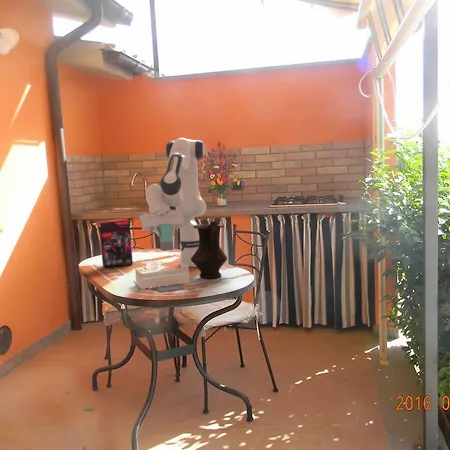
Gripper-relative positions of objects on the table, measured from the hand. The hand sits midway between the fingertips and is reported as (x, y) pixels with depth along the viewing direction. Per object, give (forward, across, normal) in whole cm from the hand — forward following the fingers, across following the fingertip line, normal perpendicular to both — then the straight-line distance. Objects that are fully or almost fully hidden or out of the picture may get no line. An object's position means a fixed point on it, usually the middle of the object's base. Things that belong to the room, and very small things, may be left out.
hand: (166, 235), depth 235 cm
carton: (+7, 0, +29) cm, 30 cm away
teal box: (+4, 0, +5) cm, 7 cm away
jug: (+10, +25, +26) cm, 38 cm away
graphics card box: (-30, -12, +67) cm, 75 cm away
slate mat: (+18, 0, +19) cm, 26 cm away
